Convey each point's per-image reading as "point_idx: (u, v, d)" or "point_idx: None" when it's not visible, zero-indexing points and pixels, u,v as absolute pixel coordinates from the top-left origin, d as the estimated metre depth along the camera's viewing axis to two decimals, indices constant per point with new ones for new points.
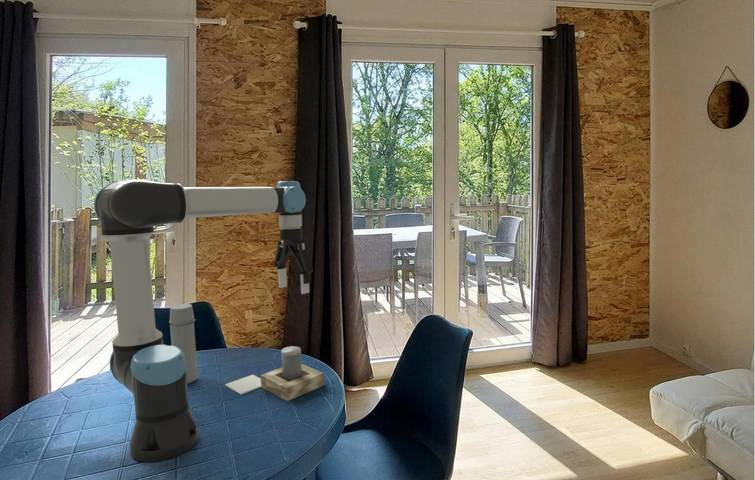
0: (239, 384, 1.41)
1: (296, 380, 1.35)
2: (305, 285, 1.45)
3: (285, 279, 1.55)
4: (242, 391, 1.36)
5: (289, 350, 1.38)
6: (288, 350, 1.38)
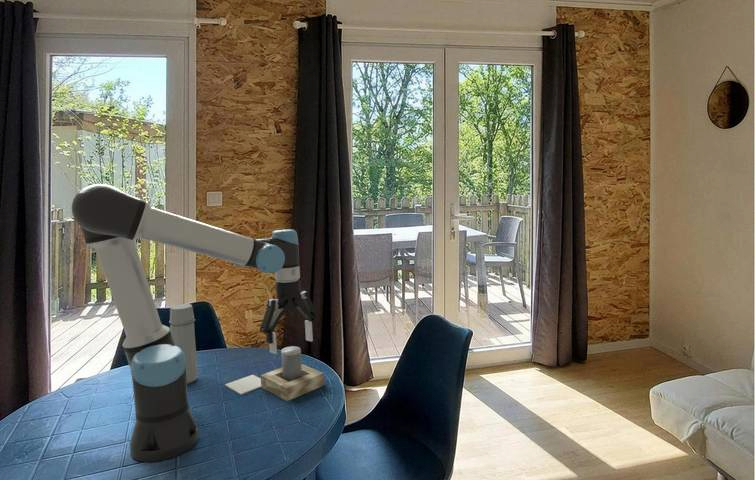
0: (239, 384, 1.41)
1: (296, 380, 1.35)
2: (271, 344, 1.33)
3: (309, 333, 1.42)
4: (242, 391, 1.36)
5: (289, 350, 1.38)
6: (288, 350, 1.38)
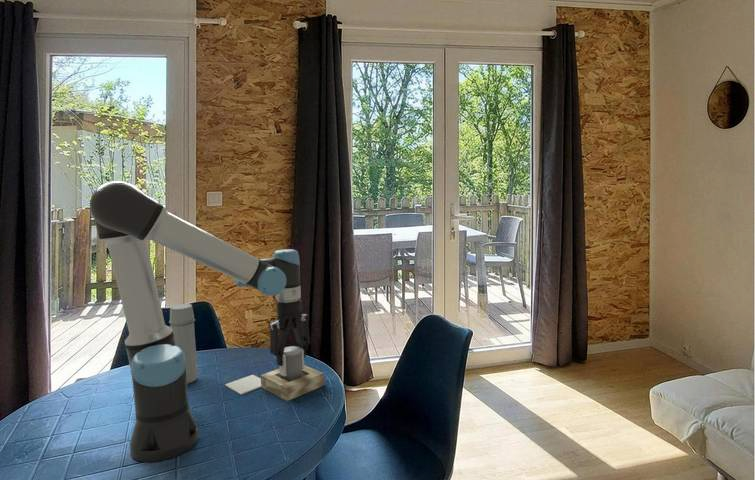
0: (239, 384, 1.41)
1: (296, 380, 1.35)
2: (281, 367, 1.36)
3: (301, 361, 1.40)
4: (242, 391, 1.36)
5: (289, 350, 1.38)
6: (288, 350, 1.38)
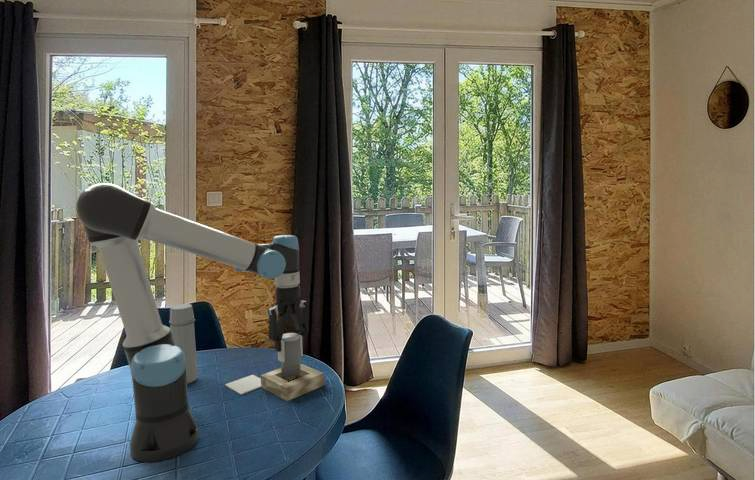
0: (239, 384, 1.41)
1: (296, 380, 1.35)
2: (279, 353, 1.36)
3: None
4: (242, 391, 1.36)
5: (288, 336, 1.37)
6: (286, 336, 1.37)
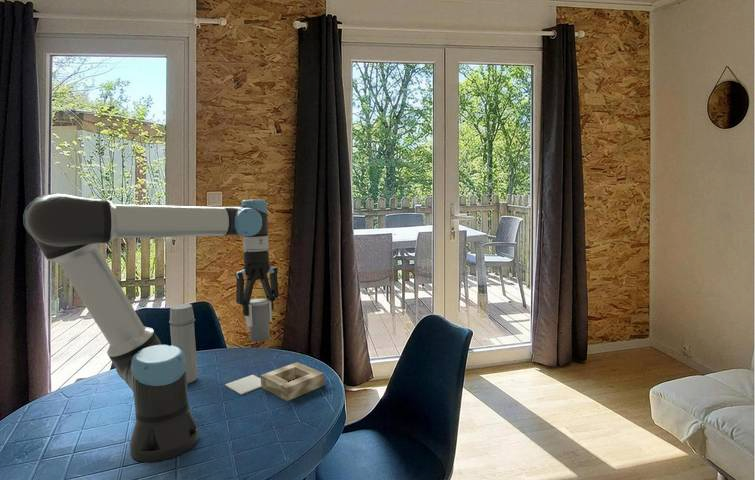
0: (239, 384, 1.41)
1: (296, 380, 1.35)
2: (247, 317, 1.36)
3: None
4: (242, 391, 1.36)
5: (256, 301, 1.37)
6: (255, 301, 1.37)
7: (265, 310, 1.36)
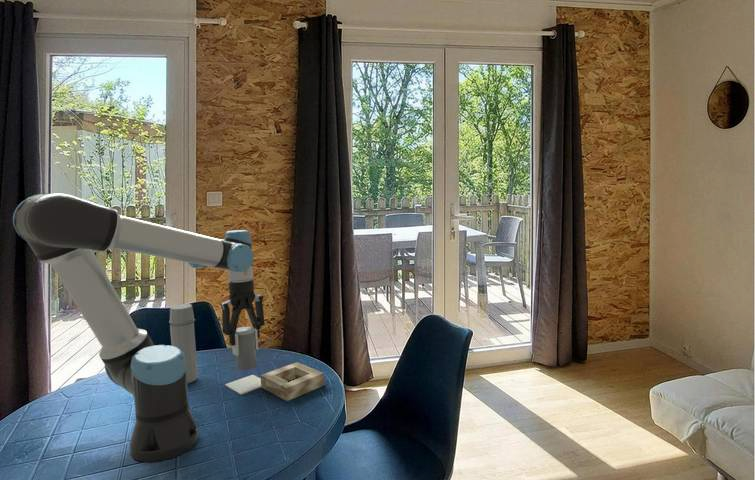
0: (239, 384, 1.41)
1: (296, 380, 1.35)
2: (234, 346, 1.38)
3: (255, 341, 1.42)
4: (242, 391, 1.36)
5: (242, 330, 1.39)
6: (241, 330, 1.39)
7: (251, 339, 1.38)
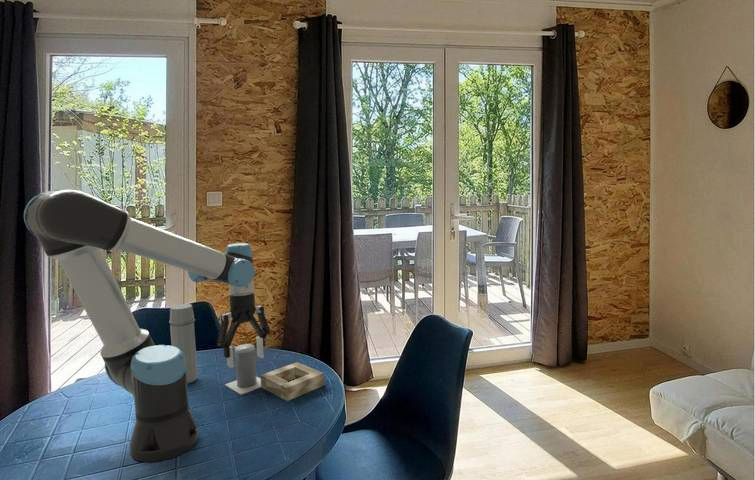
0: None
1: (296, 380, 1.35)
2: (228, 358, 1.36)
3: (260, 350, 1.43)
4: (242, 391, 1.36)
5: (242, 348, 1.40)
6: (241, 348, 1.39)
7: (251, 356, 1.39)
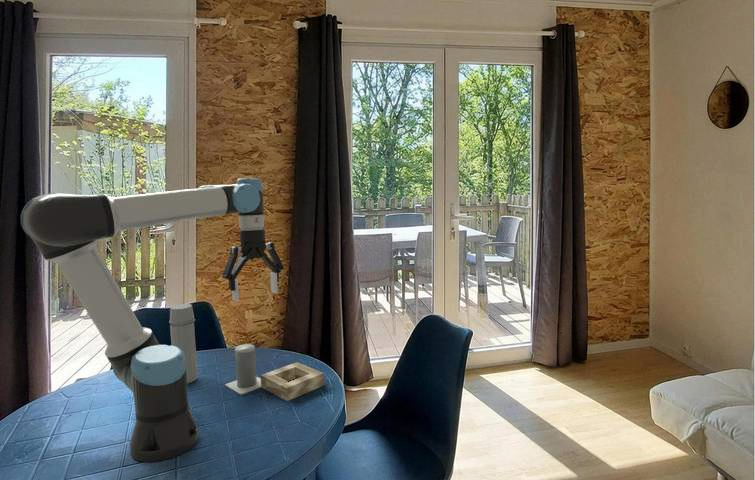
0: None
1: (296, 380, 1.35)
2: (234, 292, 1.33)
3: (274, 285, 1.42)
4: (242, 391, 1.36)
5: (243, 348, 1.40)
6: (241, 348, 1.39)
7: (252, 357, 1.39)
